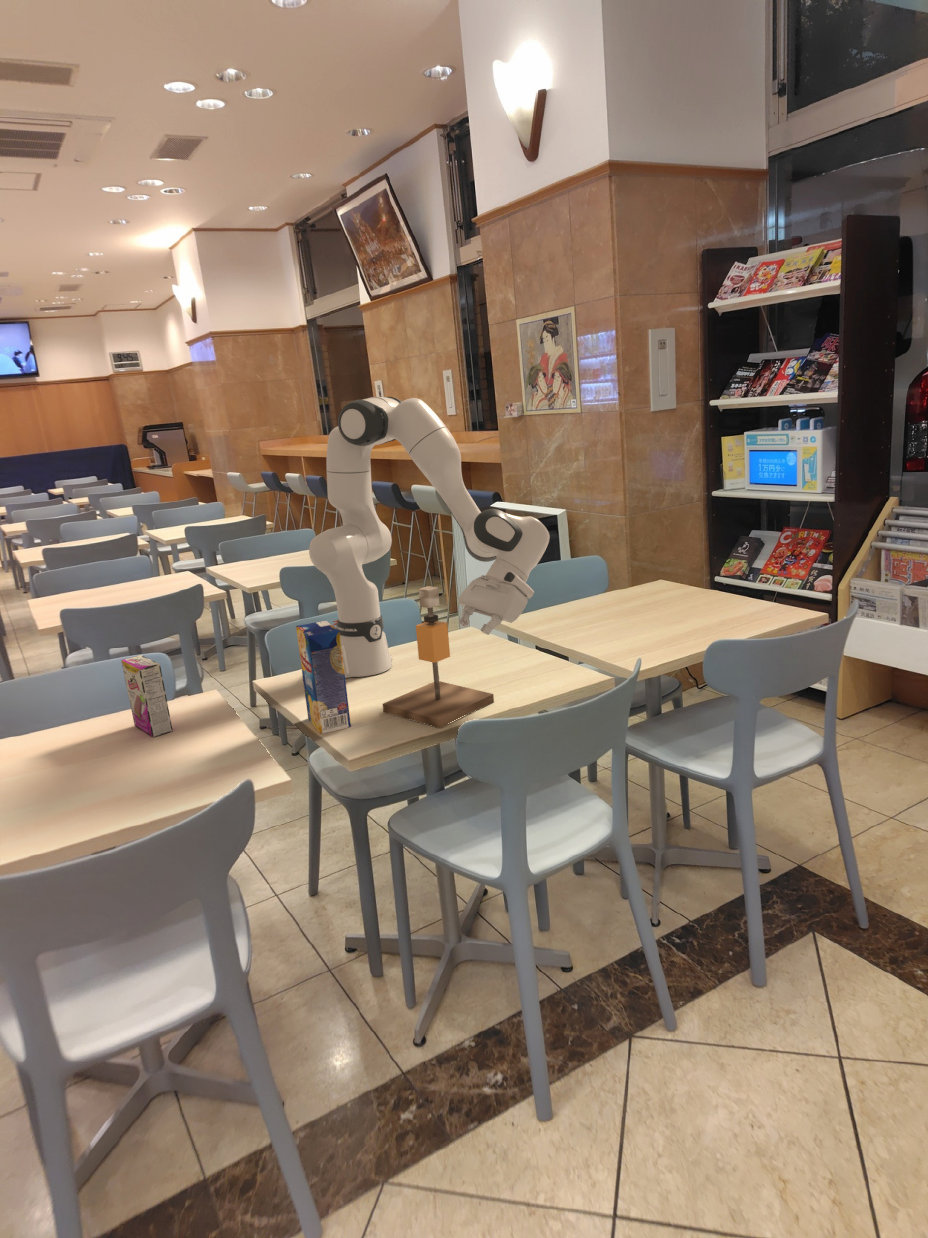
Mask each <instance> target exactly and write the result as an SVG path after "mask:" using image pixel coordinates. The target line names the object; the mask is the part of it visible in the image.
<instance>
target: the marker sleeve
mask: <svg viewBox="0 0 928 1238" xmlns="http://www.w3.org/2000/svg"><path fill="white" fill-rule="evenodd" d="M448 627H449V626H448V622H447V621H446V622H445V621H440V620H438V621H436V622H434V625H429V623H427V622H422V623H418V624H416V625H415V633H416V643H417V652H418V653H417V654H418V660H420V661H425V662H429V663H432V662H433V663H436V662H441V661H443V660H445V659H448V658H450V657H451V653H450V651H451V650H450V641H449V640H450V638H449V628H448Z"/></svg>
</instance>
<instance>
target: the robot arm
mask: <svg viewBox="0 0 928 1238" xmlns="http://www.w3.org/2000/svg"><path fill="white" fill-rule="evenodd" d="M394 441H398V443H400V445H401V446H402V448H404V450H405V451H406V453H407V454H408V456H409V458H410V459H411V460H412V461H413V463H414V464H415V465H416V467H417V468H418V470H419V471H421V473H422V474H423V475H424V476H425V478H426V479H427V480H428V481H429V483H430V484H431V485H432V487H433V488H434V490H435V491H436V492H437V493H438V494H439V496H440V498H441V499H442V502H443V503H444V504H445V505H446V507H447V509H448V510H449V513H450V514H451V516H452V517H453V518H454V520H455V521H456V523H457V524H458V526H459V528H460V530H461V533H462V536H463V541H464V546H465V549H466V550H467V551H466V552H468V554H469V556H471V557H472V558H474V560H477V561H478V562H479V561H480V562H484V563H485V562H493V561H494V562H493V563H492V564H491V566H490V568H489V569H488V570H487V572H486V574H485V575H480V576H479V577H476V578H475V579H473V580H471V581H470V583H469V584H468V585H467V586H466V588H465V589H464V590H463V591H462V593H461V594H460V595H459V597H458V604H459V605H460V606H461V607H462V608H463V609H462V613H461V617H460V618H459V620H458V625H460V626H461V627H463V628H467V627H468V625H469V624H470V622H471V621H470V618H471V616H473V614H474V613H477V614H481V615H484V616H486V617H490V620H489V621H488V622H487V623H484V624H483V625H482V627H481V629H480V631H481V632H482V633H483V634H484V635H487V636H490V634H491V633H492V631H493V630H494V629H496V628H497V627H498V626H500V625H501V623H502V622H507V623H509V624H511V623H514V622H515V621H517V619H519V617H520V616H521V614H522V613H523V611H524V609H525V608H526V606H527V604H528V601H529V600H530V599H531V598H532V597H533V596H534V595H535V594H534V593H535V591H534V589H533V588H531V587H530V585H528V583H527V581H528V579H529V575H530V574H531V571H532V570H533V569H534V568H535V567H537V565H538V564H539V562H540V561H541V559H542V557H543V555H544V554H545V552H546V549H547V547H548V545H549V543H550V537H551V536H550V532H549V531H548V529H547V527H546V526H545V524H543V522H541V521H540V520H539V519H538V518H536V517H535V516H530V515H529V516H519V515H514V514H510V513H507V512H504V511H502V510H500V509H497V508H488V509H484V510H483V511H481V510H480V508H479V507H478V506H477V504H476V502H475V500H474V499H473V497H472V496H471V494H470V493H469V491H468V490H467V488H466V486H465V483H464V479H463V474H462V454H461V451H460V448H459V446H458V444H457V441H456V439H455V437H454V435H453V434H452V433H451V432H450V430H449V428H448V427H447V425H446V424H445V423H444V422H443V420H442V419H441V418H440V417H439V416H438V414H436V412H435V410H433V409H432V408H431V407H430V406H429V405H428V404H427V403H426V402H425V401H423V400H422V399H421V398H417V397H410V398H407V399H405V400H401V399H399V398H396V397H393V396H371V397H368V398H364V399H357V400H356V399H355V400H353V401H350V402H349V403H347V404H345V405H344V406H343V407H342V409H340V411H339V415H338V418H337V426H335V427H333V429H331V431H330V432H329V435H328V439H327V446H326V485H327V486H326V489H327V500H328V502H329V504H330V505H331V506H332V507H333V508H335V509H337V510H338V512H339V514H340V516H341V521H342V525H340V526H337V527H332V528H328V529H326V530H324V531H322V532H321V533H319V534H317V535H316V536H313V538H312V539H311V541H310V543H309V547H308V553H309V555H308V556H309V558H310V561H311V563H312V564H313V566H314V567H315V568H316V569H317V570H319V572H322V573H323V574H324V575H325V576H326V577H327V579H328V581H329V582H330V584H331V586H332V589H333V592H334V597H335V602H336V609H337V616H338V619H336V620H334V621H332V623H333V625H332V626H335V628H336V629H338V630H339V631H340V639H341V647H342V656H343V664H344V673H345V679H348V678H359V677H361V678H362V677H368V676H374V675H379V674H383V673H385V672H386V671H388V670H390V669H391V668H392V666H393V664H392V661H393V656H392V655H391V654H390V651H389V644H388V641H387V637H386V636H387V635H386V633H385V631H384V618H383V615H381V608H380V599H379V589H378V588H377V587H378V586H377V585H376V584H375V583H374V582H372V581H370V580H368V579H367V577H366V576H365V573H364V570H363V565H366V564H369V563H372V562H375V561H378V559H381V558H382V557H383V556H384V555H387V553H388V552H389V551H390V549H391V547H392V542H393V538H392V534H391V531H390V529H389V527H387V525H386V524H384V522H382V521H381V520H380V518H379V516H378V514H377V512H376V507H375V504H374V500H373V489H372V467H371V466H372V464H371V454H372V450H373V448H374V447H376V446H377V445H384V444H387V443H390V442H394ZM528 599H529V600H528Z"/></svg>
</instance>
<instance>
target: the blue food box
mask: <svg viewBox="0 0 928 1238" xmlns="http://www.w3.org/2000/svg"><path fill="white" fill-rule="evenodd" d="M295 628H296V638H297V644H298V651H299V653H298V654H299V659H300V660H299V661H300V666H301V674H302V679H303V680H302V681H303V682H302V683H303V688H304V689H303V690H304V696H305V702H306V703H305V704H306V711H307V712H306V713H307V718H308V720H309V721H310V722H311V723H312V725H313V726H314V727H315V729H316V730H317V731H318V733H320V734H321V735H323V734H326V733H331V732H335V731H338V730H343V729H347V728H351V727H352V724H351V718H350V717H351V716H350V706H349V701H348V700H349V699H348V689H347V681H346V678H345V673H344V664H343V656H342V647H341V639H340V631H339V630H338V629H336V626H335V625H332V624H331V623H330V622H329V621H328V620H322V621H316V622H315V621H314V622H310V623H305V624H304V623H303V624H299V625H296V626H295Z"/></svg>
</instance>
